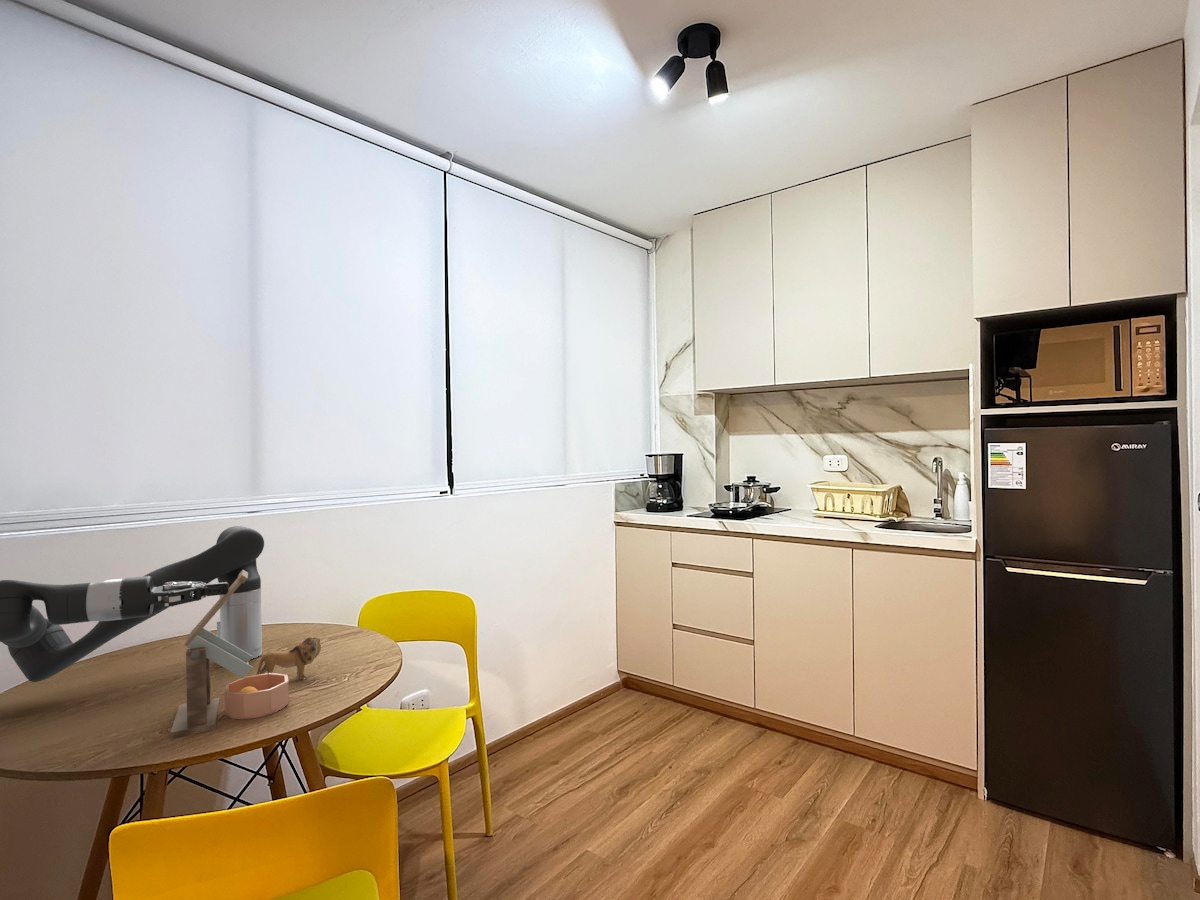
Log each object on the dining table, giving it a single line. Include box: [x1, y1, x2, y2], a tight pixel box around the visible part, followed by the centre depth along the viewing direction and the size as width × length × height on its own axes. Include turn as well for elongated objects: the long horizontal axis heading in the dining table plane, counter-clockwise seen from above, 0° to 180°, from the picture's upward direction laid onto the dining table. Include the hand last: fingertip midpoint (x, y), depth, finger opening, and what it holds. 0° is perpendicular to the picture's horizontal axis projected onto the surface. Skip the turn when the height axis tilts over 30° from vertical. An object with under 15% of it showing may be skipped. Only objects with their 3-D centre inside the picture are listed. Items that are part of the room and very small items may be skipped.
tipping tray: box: [184, 570, 254, 679], centre depth 128 cm, size 13×8×16 cm
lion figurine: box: [255, 635, 322, 680], centre depth 146 cm, size 15×5×9 cm, turn 117°
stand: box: [170, 647, 221, 739], centre depth 124 cm, size 7×15×15 cm, turn 28°
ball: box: [239, 687, 258, 693], centre depth 129 cm, size 4×4×4 cm
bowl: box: [224, 672, 290, 720], centre depth 129 cm, size 11×11×5 cm
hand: (228, 587), depth 127 cm, fingers closed
